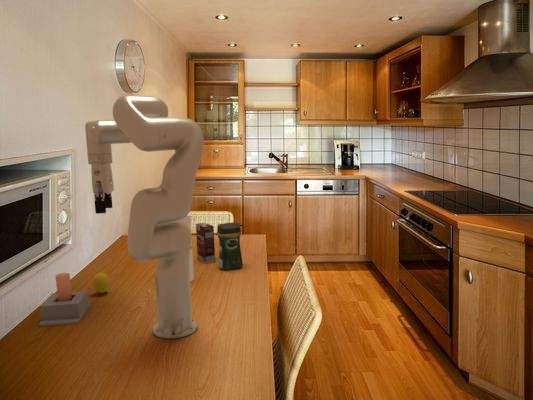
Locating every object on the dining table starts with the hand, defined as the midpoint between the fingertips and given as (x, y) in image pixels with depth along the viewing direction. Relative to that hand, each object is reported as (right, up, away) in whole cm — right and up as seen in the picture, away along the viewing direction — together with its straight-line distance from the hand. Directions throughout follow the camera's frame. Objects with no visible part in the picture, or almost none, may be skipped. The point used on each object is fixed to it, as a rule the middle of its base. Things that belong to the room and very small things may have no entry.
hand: (104, 210), depth 155 cm
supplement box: (+28, -23, +46) cm, 58 cm away
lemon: (-4, -30, +8) cm, 31 cm away
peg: (-9, -32, -9) cm, 34 cm away
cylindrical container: (+23, -27, +21) cm, 41 cm away
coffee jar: (+39, -24, +35) cm, 58 cm away
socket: (-9, -32, -9) cm, 35 cm away
